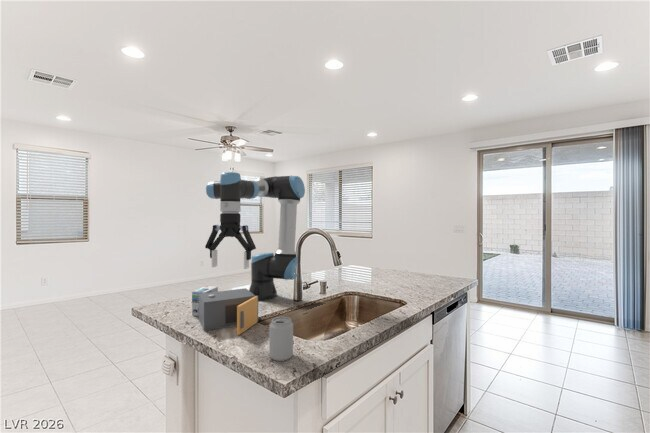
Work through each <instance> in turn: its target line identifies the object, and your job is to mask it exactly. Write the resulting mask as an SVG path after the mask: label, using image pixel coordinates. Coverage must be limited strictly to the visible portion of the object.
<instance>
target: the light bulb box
mask: <svg viewBox="0 0 650 433" xmlns="http://www.w3.org/2000/svg"><path fill="white" fill-rule="evenodd" d="M218 290H219V287H218V286H212V285H211V286H209V285H204V286H202V287H200V288H197V289H196V290H193V291H191V316H193V317H194V316H195V317H199V294H202V293H211V292H219V291H218Z"/></svg>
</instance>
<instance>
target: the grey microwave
mask: <svg viewBox="0 0 650 433" xmlns="http://www.w3.org/2000/svg"><path fill="white" fill-rule="evenodd" d="M253 297H255V295H254V294H252V293H251V292H250V291H249V289H247V288H238V289H228V290H220V291H218V292H211V293H202V294H199V316H198V321H199V323H200V325H201V327H202V329H203V330H202V331H203V332H208V331H213V330H218V329H223V328H224V329H225V328H230V327H235V326H236V327H237V306H238V305H240V304H242V303H244V302H246V301H247V300H249V299H251V298H253Z"/></svg>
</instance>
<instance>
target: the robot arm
mask: <svg viewBox="0 0 650 433" xmlns="http://www.w3.org/2000/svg"><path fill="white" fill-rule="evenodd" d="M305 187H306V186H305V183H304V181H303V180H302V177H300V176H299V175H282V176H279V175H278V176H269V177H264V178H257V179H255V180H245V179H242V178H241V174H240V173H238V172H233V171H232V172H231V171H226V172H222V173H221V174H220V181H219V180H218V181H217V180H215V181H209V182H208V183H207V184H206V186H205V192H206V195H207V197H208V198H209V199H215V200H219V201H220V204H219V206H220V207H219V208H220V209H219V210H220V214H219V222H220V224H213V225H212V231H211V233H210V235H209V237H208V239H207V241H206V244H205V249H208V250H209V258H210V259H211V268H216V267H218V249H217V247H218V246H219V245H220V243H221V242H222V241H223V240H224V238H229V237H230V238H235V239H237V241H238V242H239V244H240V245H241V247H243V249H244V250H245V251H243V270H247V269H249V268H251V270H250V271H251V281H250V282H251V283H250V285H249V289H248V290H249V291H250V292H251V293H252V294H254V295H255V296H258V301H266V300H267V301H268V300H272V299H276V298H277V296H278V293H277V289H276V286H275V282H274V279H281V280H285V281H288V280H295V279H297V277H298V276H297V274H296V269H295V266H296V265H297V257H298V256H297V257H296V252H297V251H296V250H295V249H296V247H295V246H296V230H297V213H298V212H297V211H298V205H299V204H300V202H301V199H302V198H305V193H306V189H305ZM257 197H258V198H270V199H277V201H278V203H279V204H280V209H279V210H280V211H279V213H280V214H279V226H278V227H279V228H278V244H277V246H278V247H277V250H276V251H275V252H263V253H262V252H261V253H258V254H257V253H256V254H254V255H252V251H254V250H256V249H257V247H256V244H255V243H254V240H253V237H252V236H251V233H250V231H249V225H241V214H240V213H241V211H242V210H241V199H247V200H253V199H256V198H257ZM240 231H242V233H241V232H240ZM219 232H220V233H219ZM218 233H219V234H218ZM242 234H243V235H244V236H243V235H242ZM217 235H218V236H217ZM250 260H251V263H250ZM250 266H251V267H250ZM294 273H295V274H294Z"/></svg>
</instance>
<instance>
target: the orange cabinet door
mask: <svg viewBox="0 0 650 433" xmlns="http://www.w3.org/2000/svg"><path fill="white" fill-rule="evenodd" d="M258 322H259V300H258V296H255V297H253V298H251V299H249V300H247V301H246V302H244V303H242V304H240V305H238V306H237V325H236V335H241V334H242V333H244V332H245V331H247V330H248V329H250V328H251V327H253V325H255V324H257V323H258Z"/></svg>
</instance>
